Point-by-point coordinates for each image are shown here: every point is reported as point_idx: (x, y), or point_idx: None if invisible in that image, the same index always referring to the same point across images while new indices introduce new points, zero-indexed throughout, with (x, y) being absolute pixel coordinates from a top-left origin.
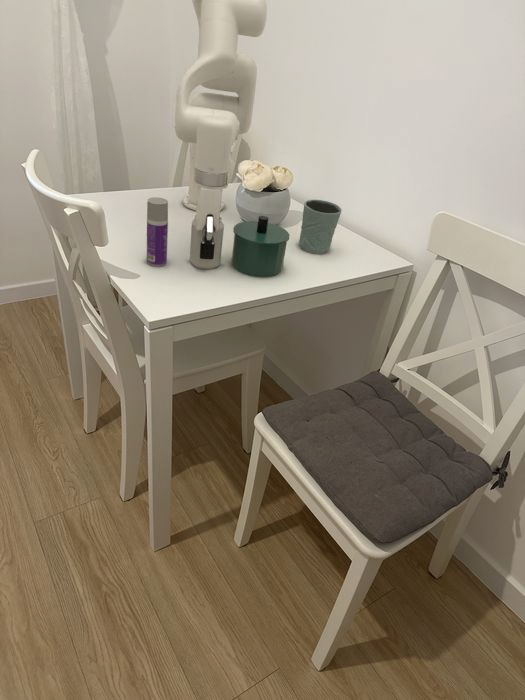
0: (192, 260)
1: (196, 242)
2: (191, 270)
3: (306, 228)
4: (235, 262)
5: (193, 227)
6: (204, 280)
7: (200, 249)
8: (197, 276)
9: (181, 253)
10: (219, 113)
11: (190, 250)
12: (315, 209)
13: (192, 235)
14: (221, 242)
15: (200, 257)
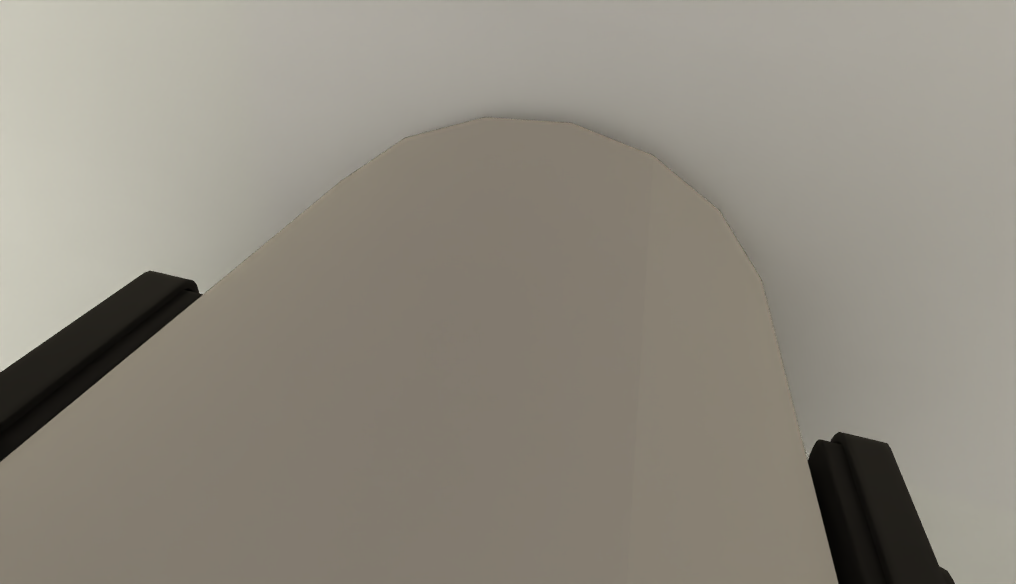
0: (405, 148)
1: (145, 346)
2: (304, 81)
3: None
4: None
5: (11, 541)
6: (19, 197)
7: (43, 348)
8: (120, 128)
9: (998, 43)
10: None
11: (510, 171)
12: None
13: (262, 339)
14: None
15: (146, 283)
